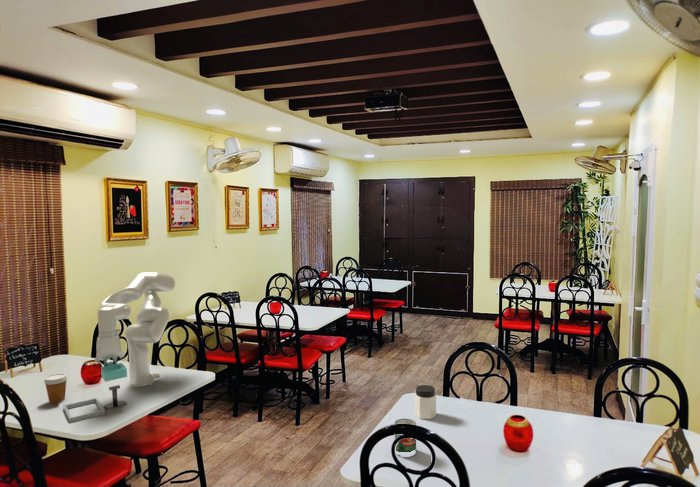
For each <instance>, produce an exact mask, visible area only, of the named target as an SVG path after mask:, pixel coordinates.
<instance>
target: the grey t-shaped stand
mask: <svg viewBox="0 0 700 487" xmlns="http://www.w3.org/2000/svg"><path fill="white" fill-rule="evenodd" d="M118 389H121V386H120V385H119V384H118V385H113V386H108V391H109V392H110V391H111V394H112V397H111V398H112V401H111V402H108V403H105V405H104V406H103V408H104V409H105V411H107V410H108V411H114V410H119V409H123V408H124V407H126V406H127V405H128V402H127V401H125V400H118Z"/></svg>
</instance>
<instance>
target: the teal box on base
mask: <svg viewBox="0 0 700 487" xmlns="http://www.w3.org/2000/svg"><path fill="white" fill-rule="evenodd" d="M107 362H108V363H107V365H108V366H105V367H101V375H100V377H102V379H103V380H104V382H111V381H115V380H119V379H122V378H123V379H124V378H128V369H127V367H126V365H124V364H123V363H122V362H120V363H116V364H113V363H112V362H113V361H107Z"/></svg>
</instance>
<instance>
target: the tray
mask: <svg viewBox="0 0 700 487" xmlns="http://www.w3.org/2000/svg"><path fill="white" fill-rule="evenodd" d="M91 404H96V406H97V407H98V409H99V410H97V411H92V412H87V413H84V414H80V415H74V416H71V413H70V411H69V409H74V408H78V407H83V406H87V405H91ZM103 407H104V406H103V405H102V402H100V400H99V399H98V397H94V398H90V399H85V400H82V401H81V400H80V401H77V402H76V401H75V402H73V403H68V404H64V405H63V410H64V413H65V415H66V417H67V420H68V422H69V423H70V424H71V423H73V422H79V421H83V420H86V419H91V418H95V417H99V416H103V415H106V410H105V409H104V408H103Z"/></svg>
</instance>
